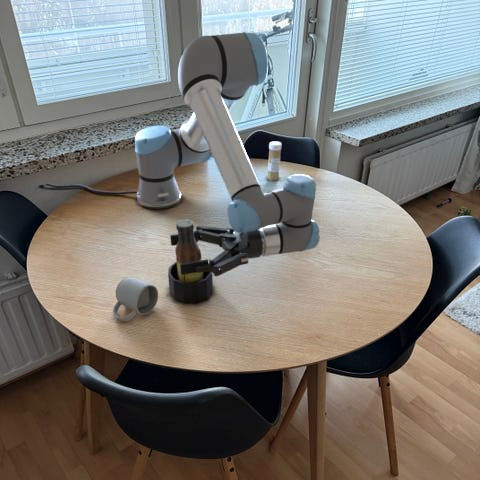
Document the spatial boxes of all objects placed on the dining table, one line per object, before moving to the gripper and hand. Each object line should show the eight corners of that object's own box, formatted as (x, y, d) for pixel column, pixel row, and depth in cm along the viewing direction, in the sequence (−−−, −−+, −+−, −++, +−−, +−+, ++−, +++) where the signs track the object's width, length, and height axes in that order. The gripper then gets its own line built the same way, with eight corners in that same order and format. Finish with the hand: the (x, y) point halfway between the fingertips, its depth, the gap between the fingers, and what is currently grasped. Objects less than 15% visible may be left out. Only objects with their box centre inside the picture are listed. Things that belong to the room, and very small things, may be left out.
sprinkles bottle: (266, 175, 171) (269, 140, 162) (278, 176, 171) (281, 141, 162) (267, 180, 168) (269, 145, 159) (279, 181, 168) (282, 145, 159)
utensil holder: (162, 296, 113) (159, 275, 108) (185, 274, 120) (183, 254, 116) (198, 309, 109) (197, 288, 105) (220, 285, 116) (219, 265, 112)
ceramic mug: (136, 293, 113) (131, 268, 108) (160, 304, 110) (156, 279, 105) (106, 315, 107) (99, 291, 102) (131, 328, 103) (125, 303, 98)
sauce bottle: (208, 287, 116) (205, 220, 103) (196, 301, 111) (192, 232, 98) (186, 281, 118) (181, 214, 105) (174, 294, 113) (167, 225, 100)
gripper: (274, 281, 104) (186, 296, 100) (244, 231, 122) (168, 241, 117) (277, 255, 99) (184, 269, 95) (245, 206, 117) (165, 216, 112)
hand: (175, 254), depth 106 cm, fingers open, 12 cm apart
